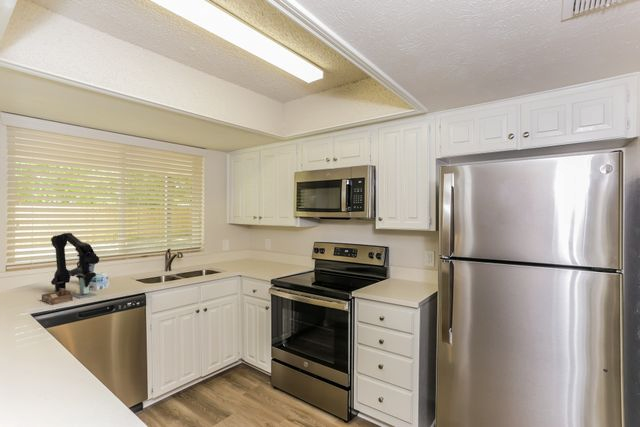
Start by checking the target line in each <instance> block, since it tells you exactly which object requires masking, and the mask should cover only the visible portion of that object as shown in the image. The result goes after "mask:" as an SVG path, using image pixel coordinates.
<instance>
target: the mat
mask: <svg viewBox="0 0 640 427" xmlns="http://www.w3.org/2000/svg"><path fill="white" fill-rule="evenodd" d="M73 296H74V297H73V298H77V299H85V298H90V297H95V296H98V294H96V293H93V292H90V291H89V293H85V294H83V293H77V294H73Z"/></svg>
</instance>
